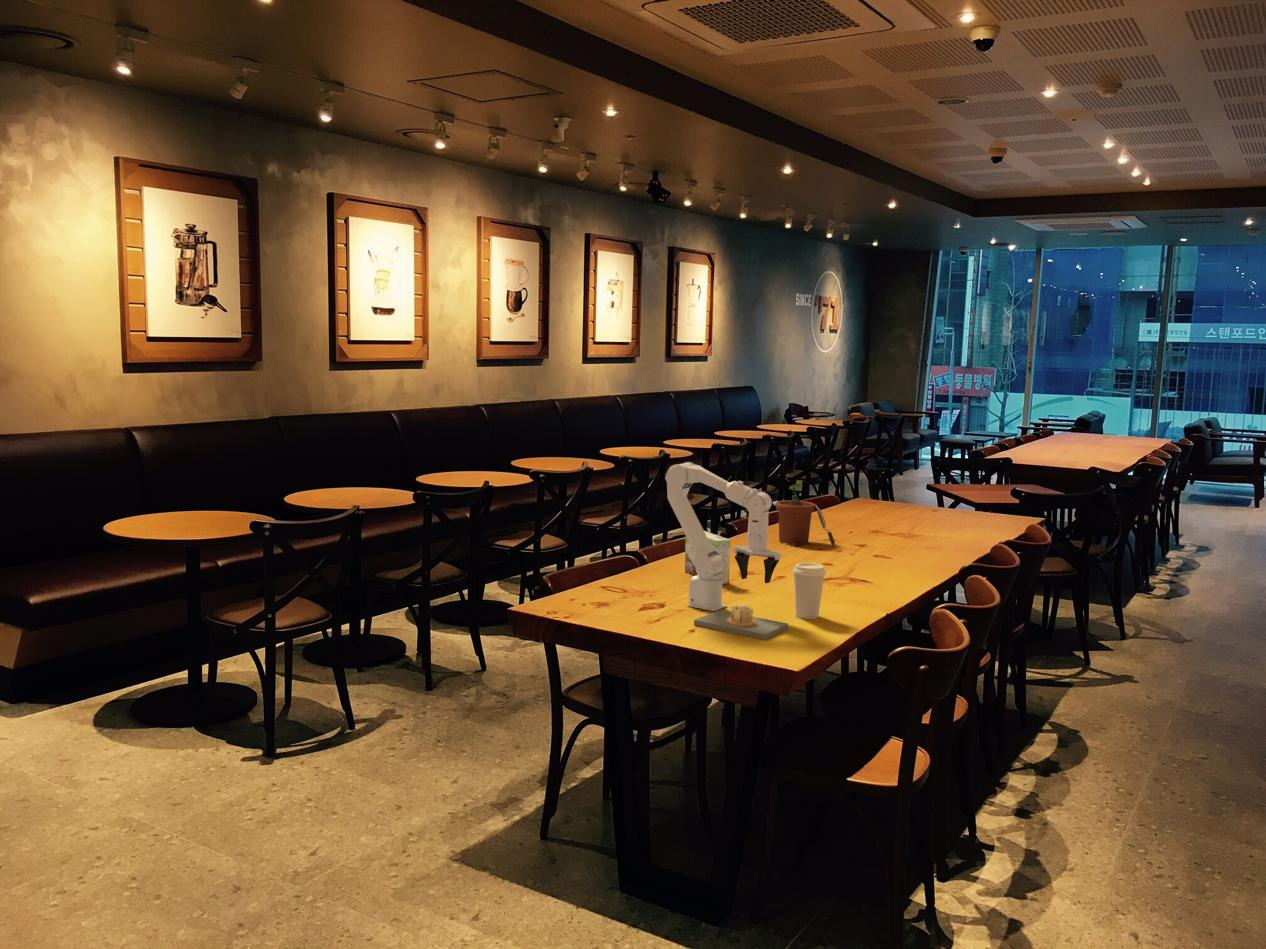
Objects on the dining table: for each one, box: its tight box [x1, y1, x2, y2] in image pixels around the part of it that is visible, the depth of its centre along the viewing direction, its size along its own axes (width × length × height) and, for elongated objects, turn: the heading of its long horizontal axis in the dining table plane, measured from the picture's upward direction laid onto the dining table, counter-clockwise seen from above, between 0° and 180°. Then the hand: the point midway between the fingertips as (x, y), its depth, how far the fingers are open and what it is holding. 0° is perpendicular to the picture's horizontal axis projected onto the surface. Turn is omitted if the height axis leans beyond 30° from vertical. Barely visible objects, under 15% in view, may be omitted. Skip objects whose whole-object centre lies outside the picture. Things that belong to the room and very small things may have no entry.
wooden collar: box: [730, 605, 754, 624], centre depth 279 cm, size 6×6×4 cm
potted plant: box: [775, 480, 836, 548], centre depth 404 cm, size 18×22×25 cm
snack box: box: [684, 530, 731, 585], centre depth 338 cm, size 21×6×15 cm, turn 27°
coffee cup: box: [792, 562, 827, 620], centre depth 292 cm, size 10×10×15 cm
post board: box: [693, 604, 789, 641], centre depth 279 cm, size 22×14×6 cm, turn 55°
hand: (755, 580), depth 293 cm, fingers open, 7 cm apart
